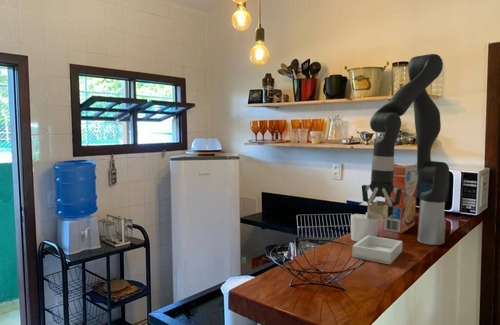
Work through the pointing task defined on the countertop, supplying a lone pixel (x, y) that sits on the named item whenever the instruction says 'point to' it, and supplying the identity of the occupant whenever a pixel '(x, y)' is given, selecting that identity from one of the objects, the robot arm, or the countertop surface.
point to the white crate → (377, 249)
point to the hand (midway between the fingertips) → (379, 215)
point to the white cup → (359, 226)
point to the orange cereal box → (403, 198)
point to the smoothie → (373, 227)
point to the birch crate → (378, 210)
